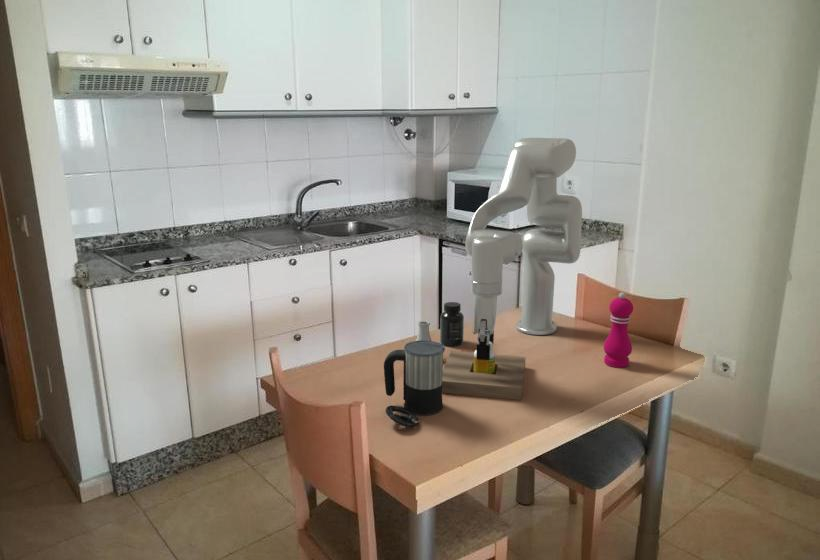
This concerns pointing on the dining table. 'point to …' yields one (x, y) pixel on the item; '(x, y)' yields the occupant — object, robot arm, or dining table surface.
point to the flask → (423, 331)
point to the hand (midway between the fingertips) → (485, 351)
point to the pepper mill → (619, 333)
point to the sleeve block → (484, 376)
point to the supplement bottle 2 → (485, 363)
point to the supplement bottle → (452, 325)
